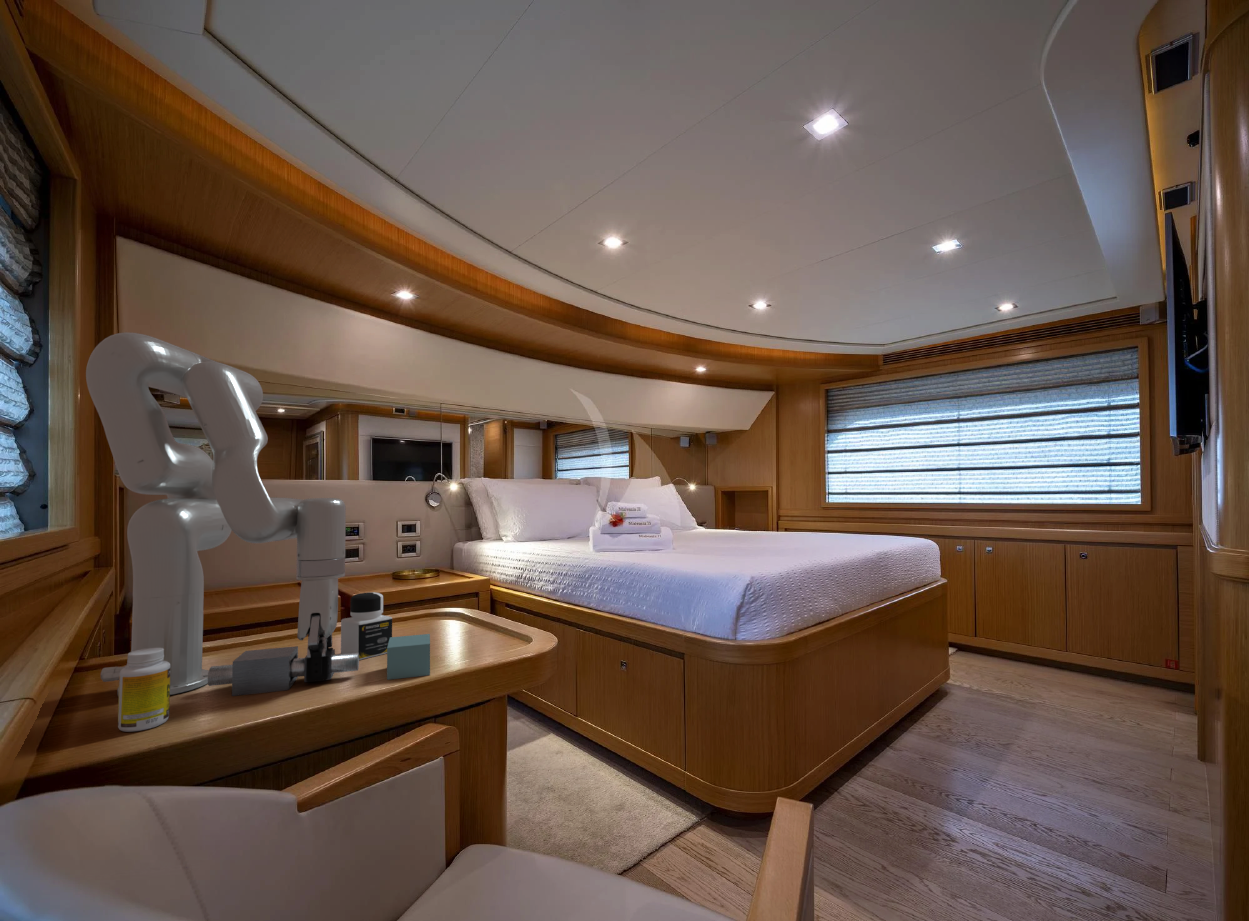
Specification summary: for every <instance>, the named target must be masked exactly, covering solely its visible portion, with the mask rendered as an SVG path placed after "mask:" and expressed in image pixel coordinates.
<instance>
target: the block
mask: <svg viewBox="0 0 1249 921" xmlns="http://www.w3.org/2000/svg"><path fill="white" fill-rule="evenodd" d="M386 655H387V656H386V680H388V681H389V680H390V681H391V680H396V679H407V678H415V677H425V676H430V675H431V633H425V634H424V633H423V634H412V635H403V636H402V635H400V636H392V637H390V639H389V643H388V647H387V654H386Z"/></svg>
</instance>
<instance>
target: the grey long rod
mask: <svg viewBox="0 0 1249 921" xmlns="http://www.w3.org/2000/svg"><path fill="white" fill-rule="evenodd" d="M326 655H328V678H327V680H326V681H328V680H331V679H332V678H333V676H334V674H336V673H346V672H347V673H348V672H355V671H359V667H360V666H359V665H360V660H359V653H348V654H341V653H340V654H336V648H335V649H334V648H333V649H331V650H326ZM306 660H307V654H306V656H304V657H298V658H295V659H292V660H291V661H290V677H298V678H299V677H304V680H303V682H304V683H308V682H307V681H306ZM232 669H233V664H223V665H213V666H210V667H209V669H208V670H209V672H208V683H207V685H208V687H212V686H221V685H230V684H232Z"/></svg>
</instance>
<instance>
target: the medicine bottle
mask: <svg viewBox="0 0 1249 921" xmlns="http://www.w3.org/2000/svg"><path fill="white" fill-rule="evenodd" d="M383 613H384V595H383V594H382V593H380V592H374V591H373V592H370V591H369V592H360V593H356V594H354V595H352V596H351V597H350V616H351V617H347V618H346V617H345V618H342V619H341V621H340V654H348V653H359V661H362V660H365V659H366V660H367V659H370V658H375V657H378V656H382V655H387V647H388V643H389V639H390V637H393V617H392V616H389V615H384V614H383Z"/></svg>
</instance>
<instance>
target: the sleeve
mask: <svg viewBox="0 0 1249 921" xmlns="http://www.w3.org/2000/svg"><path fill="white" fill-rule="evenodd" d="M295 658H299V646H285V647H276V648H274V647H273V648H263V649H254V650H245V651H244V652H242V653H241V654H240V655H239V656H238V657H236V658H235V659H234V660H233V661H232V665H233V669H232V685H231V697H235V696H247V695H255V694H256V695H257V694H263V693H272V692H280V691H281V692H282V691H289V690H290V689H291V687H292V686H293V685H294V683H295V682H296V681H297V679H298V678H299V677H290V661H291V660H292V659H295Z"/></svg>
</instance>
